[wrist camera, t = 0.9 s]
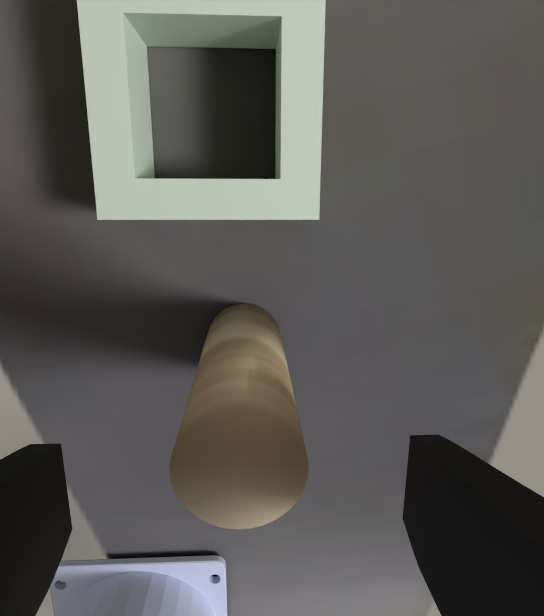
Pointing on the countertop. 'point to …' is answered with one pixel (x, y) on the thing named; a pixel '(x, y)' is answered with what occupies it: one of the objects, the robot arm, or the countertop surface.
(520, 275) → the countertop surface
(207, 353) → the beech peg
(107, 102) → the hole block
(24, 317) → the countertop surface
